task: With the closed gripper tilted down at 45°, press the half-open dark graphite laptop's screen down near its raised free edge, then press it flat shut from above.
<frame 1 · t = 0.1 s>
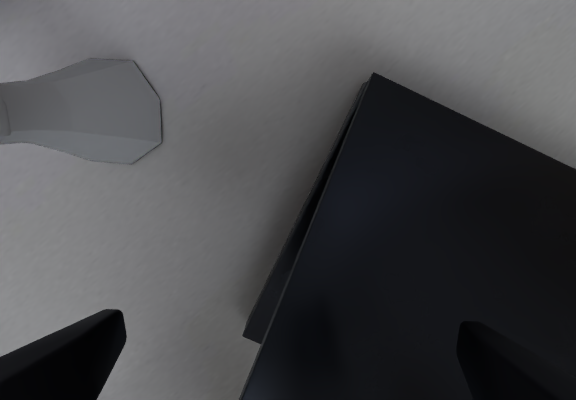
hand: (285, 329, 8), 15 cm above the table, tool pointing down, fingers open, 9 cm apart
flask: (115, 113, 22), on the table
laptop screen: (565, 350, 16), point 7 cm above the table, hinge at 32.0°
laptop: (473, 295, 24), on the table
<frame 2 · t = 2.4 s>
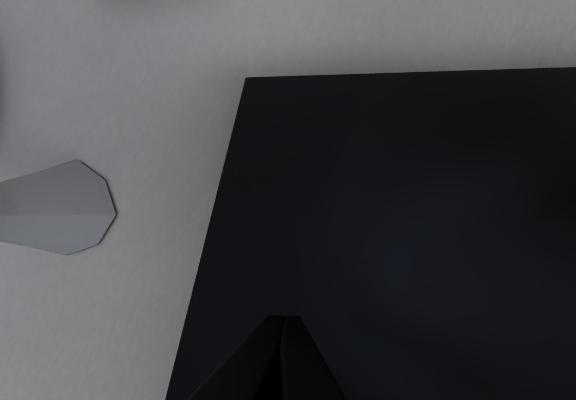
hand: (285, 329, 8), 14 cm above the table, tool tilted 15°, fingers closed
flask: (77, 207, 26), on the table
laptop screen: (530, 224, 14), point 7 cm above the table, hinge at 32.0°
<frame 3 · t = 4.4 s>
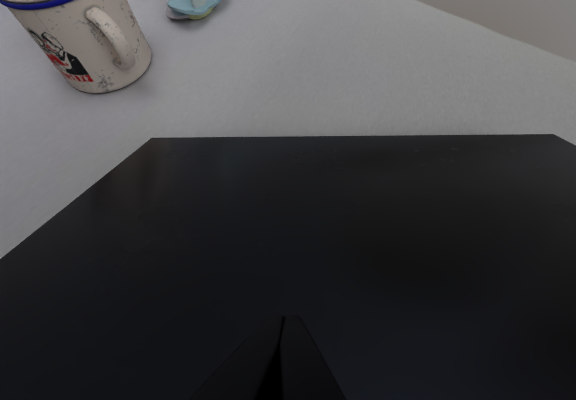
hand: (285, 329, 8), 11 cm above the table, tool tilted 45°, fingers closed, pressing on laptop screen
pacifier: (197, 11, 37), on the table
laptop screen: (361, 217, 15), point 7 cm above the table, hinge at 29.5°, touching gripper
teacup with lid: (120, 73, 32), on the table
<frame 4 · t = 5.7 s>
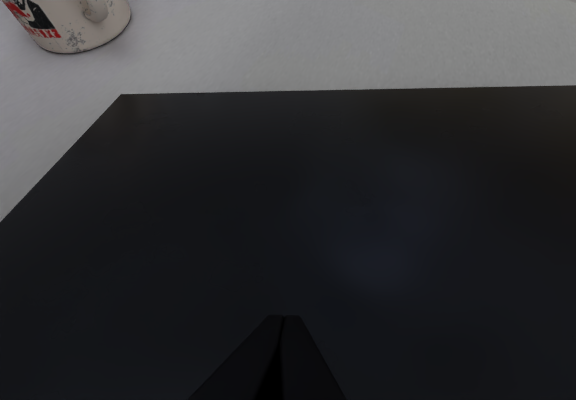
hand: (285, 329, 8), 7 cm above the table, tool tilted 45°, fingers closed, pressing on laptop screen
laptop screen: (371, 215, 12), point 5 cm above the table, hinge at 16.1°, touching gripper
teacup with lid: (94, 33, 28), on the table
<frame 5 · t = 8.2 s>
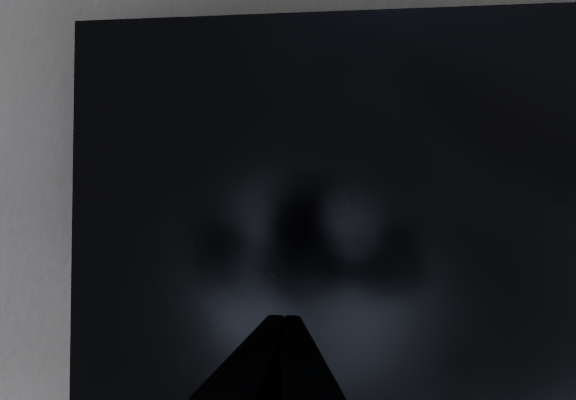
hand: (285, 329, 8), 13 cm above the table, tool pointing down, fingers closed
laptop screen: (359, 217, 15), point 5 cm above the table, hinge at 16.1°
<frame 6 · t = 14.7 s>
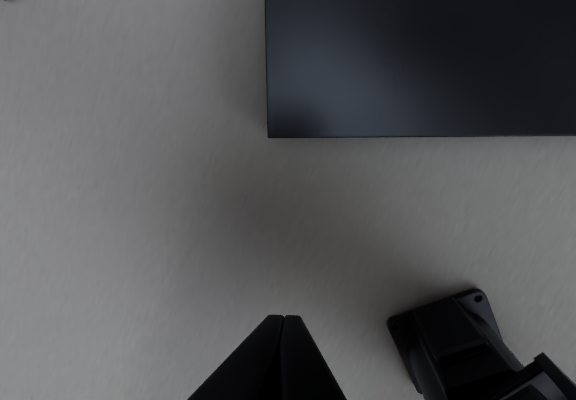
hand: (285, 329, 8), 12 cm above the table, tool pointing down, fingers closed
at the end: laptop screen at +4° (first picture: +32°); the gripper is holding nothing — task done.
